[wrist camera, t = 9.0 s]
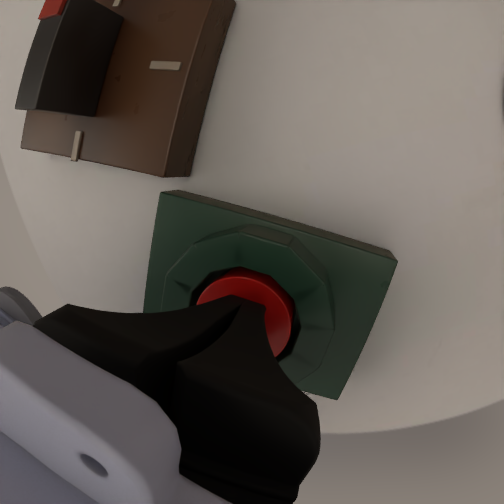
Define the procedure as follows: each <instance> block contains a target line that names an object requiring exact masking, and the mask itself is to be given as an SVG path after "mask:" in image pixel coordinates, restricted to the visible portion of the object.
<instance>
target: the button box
mask: <svg viewBox="0 0 504 504" xmlns="http://www.w3.org/2000/svg"><path fill="white" fill-rule="evenodd" d="M397 263H398V261H397V259H396V258H395V257H394V255H393V254H392V253H391V252H390V251H389V250H385V249H382V248H379V247H376V246H373V245H370V244H367V243H364V242H360V241H357V240H354V239H351V238H348V237H344V236H341V235H338V234H335V233H331V232H328V231H325V230H321V229H318V228H315V227H311V226H308V225H305V224H301V223H298V222H294V221H291V220H288V219H284V218H281V217H277V216H274V215H270V214H267V213H263V212H260V211H256V210H252V209H249V208H245V207H242V206H238V205H234V204H231V203H227V202H223V201H219V200H216V199H212V198H208V197H204V196H201V195H197V194H193V193H189V192H185V191H181V190H172V191H164V192H161V193H160V197H159V202H158V208H157V214H156V219H155V225H154V232H153V238H152V245H151V252H150V259H149V266H148V274H147V282H146V290H145V299H144V308H143V313H157V312H166V311H173V310H178V309H183V308H187V307H191V306H195V305H196V304H197V301H198V299H199V297H200V295H201V294H202V292H203V291H204V290H205V289H206V288H207V287H208V286H209V285H210V284H211V283H212V282H213V281H214V280H215V279H216V278H218V277H219V276H220V275H221V274H222V273H223V272H224V271H226V270H227V269H230V268H234V267H239V266H241V267H244V268H248V269H251V270H254V271H257V272H260V273H264V274H267V275H270V276H271V277H272V278H273V279H274V280H275V281H276V282H277V283H278V284H279V285H280V286H281V287H282V288H283V289H284V290H285V291H286V292H287V293H288V294H289V295H290V296H291V297H292V298H293V299H294V303H295V307H296V315H295V319H294V323H293V327H292V330H291V334H290V337H289V340H288V343H287V345H286V346H285V348H284V349H283V350H282V352H281V353H280V354H279V355H277V356H276V357H275V358H276V360H277V362H278V364H279V365H280V367H281V368H282V370H283V371H284V373H285V374H286V375H287V377H288V378H289V379H290V380H291V381H292V382H293V383H294V384H295V385H296V387H297V388H298V389H300V390H301V391H305V392H308V393H312V394H315V395H319V396H323V397H327V398H330V399H334V400H338V398H339V396H340V394H341V392H342V390H343V388H344V387H345V385H346V383H347V381H348V379H349V377H350V375H351V372H352V370H353V368H354V366H355V364H356V362H357V360H358V358H359V356H360V354H361V351H362V349H363V347H364V345H365V343H366V340H367V338H368V336H369V334H370V331H371V329H372V327H373V324H374V322H375V320H376V317H377V315H378V313H379V310H380V308H381V305H382V303H383V300H384V298H385V295H386V293H387V290H388V287H389V285H390V282H391V280H392V277H393V274H394V271H395V269H396V266H397Z"/></svg>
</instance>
